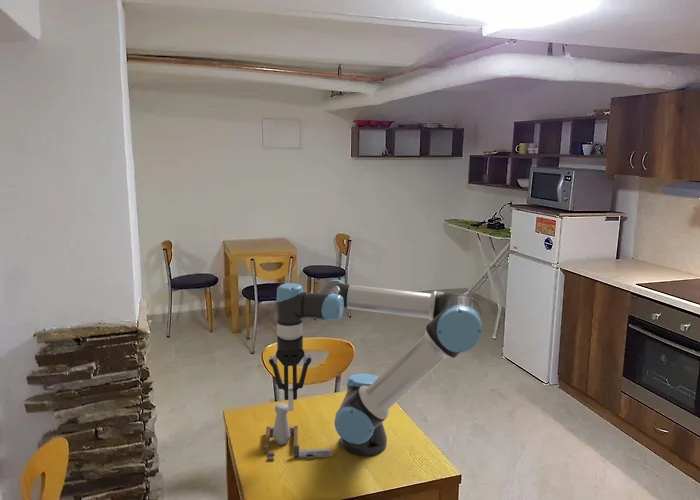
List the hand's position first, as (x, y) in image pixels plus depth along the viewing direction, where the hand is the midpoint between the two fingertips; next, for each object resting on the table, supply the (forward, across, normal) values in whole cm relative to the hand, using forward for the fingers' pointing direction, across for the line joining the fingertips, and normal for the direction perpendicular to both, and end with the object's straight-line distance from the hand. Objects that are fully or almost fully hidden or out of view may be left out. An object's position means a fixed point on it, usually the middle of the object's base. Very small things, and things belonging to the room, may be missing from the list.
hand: (290, 409), depth 166 cm
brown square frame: (+16, +1, -6) cm, 18 cm away
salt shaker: (+16, +3, -9) cm, 19 cm away
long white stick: (+16, -6, 0) cm, 17 cm away
